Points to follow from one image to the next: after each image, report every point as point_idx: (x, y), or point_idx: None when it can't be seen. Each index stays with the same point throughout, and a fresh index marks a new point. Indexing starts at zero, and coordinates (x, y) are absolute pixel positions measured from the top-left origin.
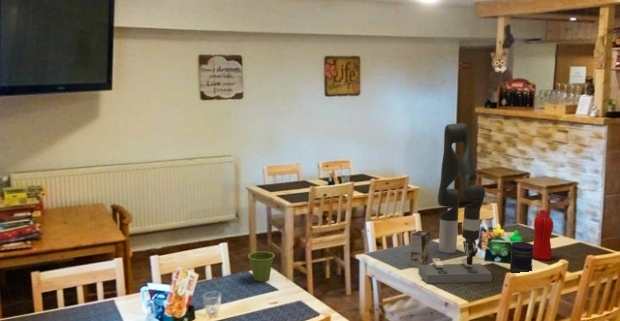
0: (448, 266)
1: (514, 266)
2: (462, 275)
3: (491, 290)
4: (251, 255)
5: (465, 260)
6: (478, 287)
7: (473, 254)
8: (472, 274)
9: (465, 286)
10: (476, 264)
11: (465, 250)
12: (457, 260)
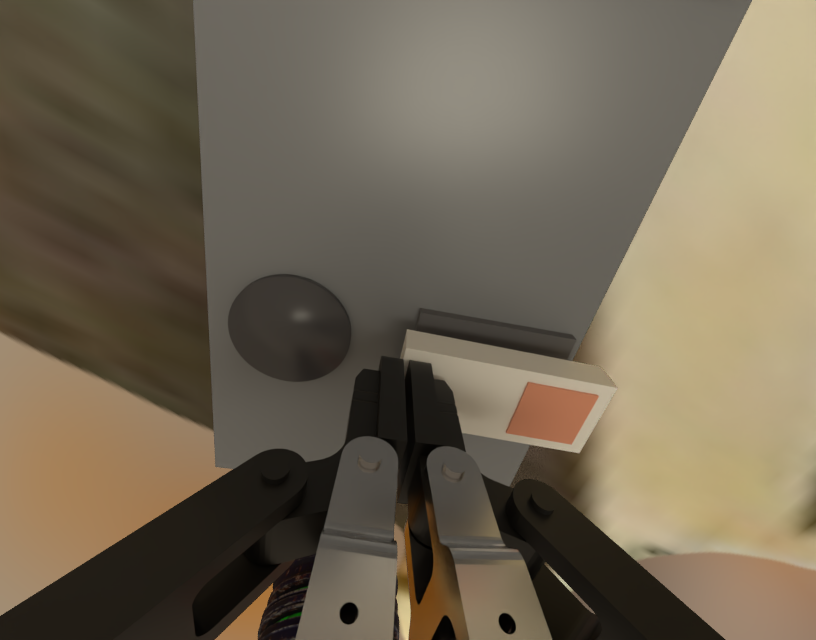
0: (584, 121)
1: (295, 638)
2: (210, 144)
3: (26, 311)
4: None
5: (522, 396)
6: (100, 239)
7: (247, 555)
8: (210, 286)
9: (123, 109)
10: (491, 463)
11: (551, 539)
12: (782, 415)
